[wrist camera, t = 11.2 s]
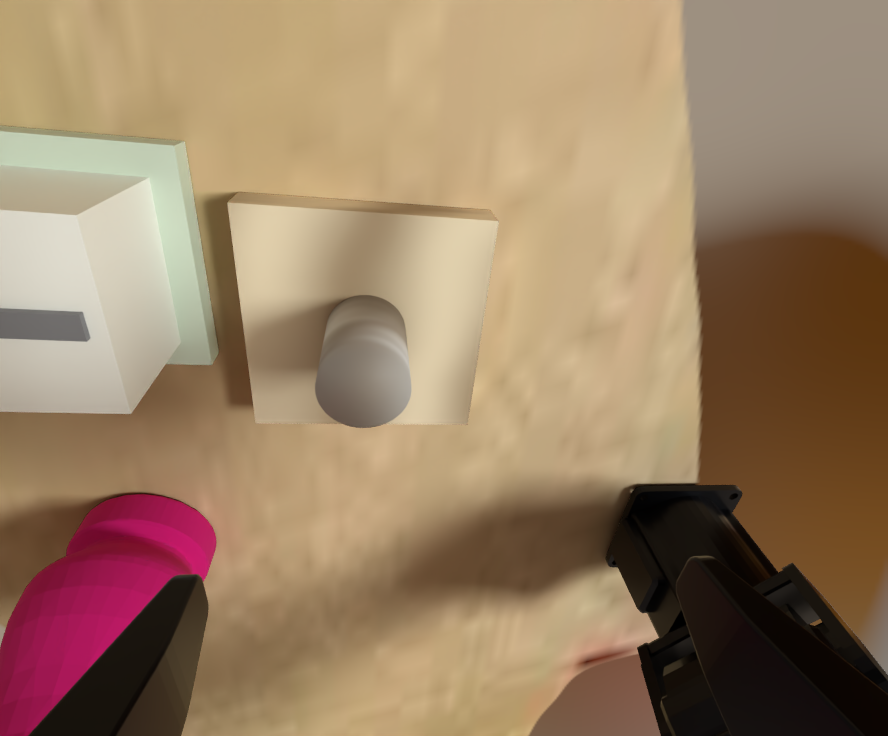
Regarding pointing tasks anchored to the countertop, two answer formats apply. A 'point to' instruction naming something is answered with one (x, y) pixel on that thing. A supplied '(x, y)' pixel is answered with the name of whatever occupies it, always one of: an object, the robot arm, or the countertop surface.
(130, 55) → the countertop surface
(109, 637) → the pepper mill
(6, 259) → the white cabinet cube
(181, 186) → the pad
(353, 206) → the post base
